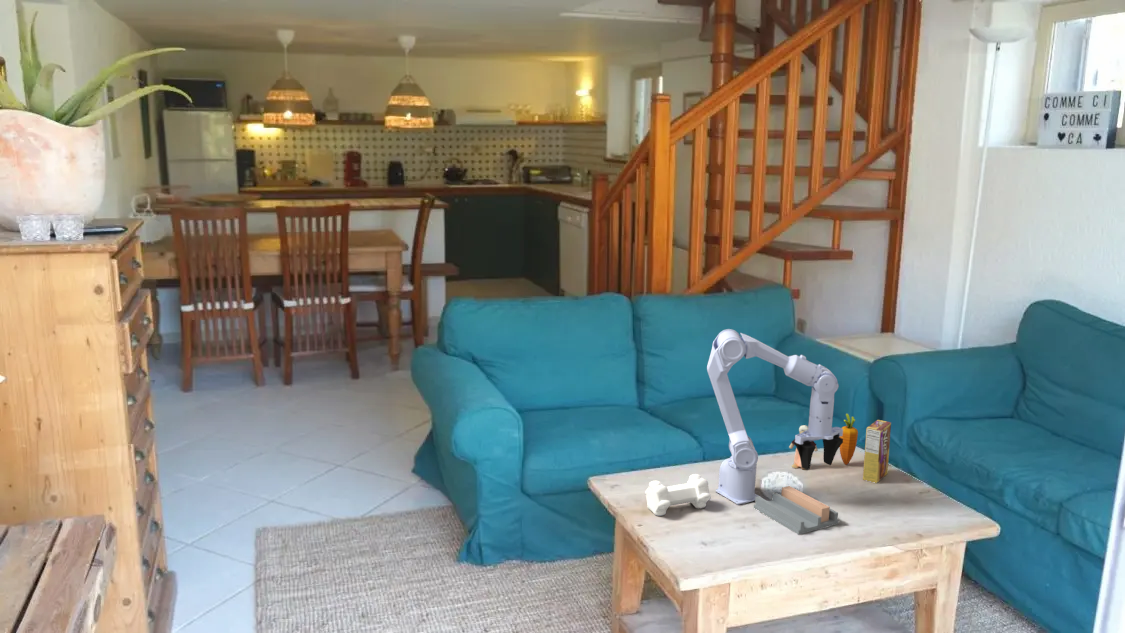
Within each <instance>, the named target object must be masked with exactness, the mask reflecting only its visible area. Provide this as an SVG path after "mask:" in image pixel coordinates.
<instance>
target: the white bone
mask: <svg viewBox="0 0 1125 633" xmlns="http://www.w3.org/2000/svg"><path fill="white" fill-rule="evenodd" d="M644 495H645V499H646V503H647V504H646V506H647V509H648V510H650V511H651V512H652V513H653V514H654V515H655V516H656V517H657V516H658V517H660V516H661V517H662V516H664V515H666V513H667V510H668V509H669V507H672V506H678V505H684V504H691V505H693V506H694V508H696V509H699V508H700V509H704V508H705V507H707V503H708V501H709V500H710V499H711V497H712V496H711V493H710V488H709V481H708V479H705V478H703V477H702V475H701V474H698V473H692V474H691V475H689V477H688V480H687V482H686V483H681V484H674V485H668V486H665V485H664V484H663V483H662V482H661V481H659V480H652V481H650V482H649V483H648V487H647V488H646V490H645V491H644Z"/></svg>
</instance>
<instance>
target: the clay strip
mask: <svg viewBox="0 0 1125 633" xmlns="http://www.w3.org/2000/svg"><path fill="white" fill-rule="evenodd" d="M780 495H782V496H783V497H785V498H787V499H789V500H791V501H793V502H794V503H796V504H798V505H800V506H802V507H804V508H806V509H807V510H809V511H811V512H813V513H815V514H817V515H818V516H820V517H821V522H824V521H828V520H829V510H830V509H831V508H830V507H831V506H829V505H827V504H824V503H823V502H822V501H819V500H817V499H815V498H813V497H812V496H809V495H807V494H806V493H804V492H802V491H800V490H798V489H796V488H795V487H792V486H791V485H788V486H787V485H786V486H783V487H781V494H780Z"/></svg>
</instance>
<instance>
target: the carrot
mask: <svg viewBox="0 0 1125 633" xmlns="http://www.w3.org/2000/svg"><path fill="white" fill-rule="evenodd" d="M845 417H846V419H843V422H844V423H845V426H842V427H841V428H842V429H843V436H839V437H840V438H842V439H843V443H842V444H841V445H840V447H839V455H840V457H841V460H842V462H843V465H845V466H847V465H848V464H849V463H850V461H851V460H852V458H853V456H854V454H855V452H856V451H855V450H856V447H857V443H858V435H859V432H858V429H857V428H855V427H854V423H855V422H856V419H855V417H854V416H851V417H850V415H849V413H845Z"/></svg>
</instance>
